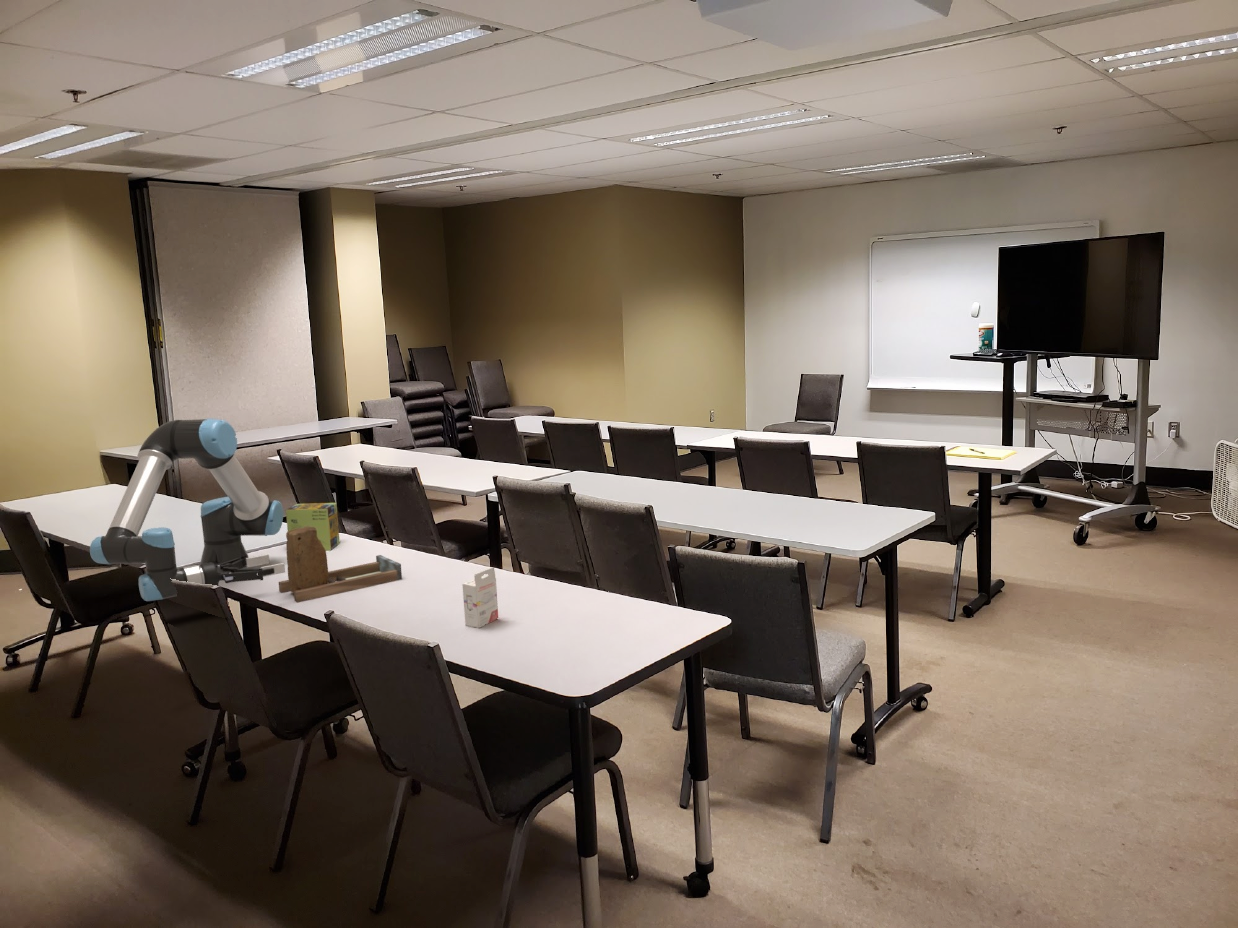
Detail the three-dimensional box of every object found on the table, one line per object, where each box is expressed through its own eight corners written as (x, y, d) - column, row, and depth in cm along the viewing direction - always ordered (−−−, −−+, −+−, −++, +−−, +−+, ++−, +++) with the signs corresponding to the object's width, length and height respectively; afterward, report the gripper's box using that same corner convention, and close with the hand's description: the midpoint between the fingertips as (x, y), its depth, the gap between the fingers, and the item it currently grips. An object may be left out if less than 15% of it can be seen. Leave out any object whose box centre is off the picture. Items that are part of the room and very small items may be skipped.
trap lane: (279, 591, 282) (277, 575, 282) (381, 569, 303) (380, 554, 302) (297, 602, 271) (295, 585, 270) (401, 579, 292) (400, 563, 291)
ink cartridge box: (484, 616, 254) (482, 564, 251) (499, 618, 251) (496, 566, 249) (464, 625, 247) (460, 572, 244) (478, 628, 244) (475, 574, 242)
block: (297, 598, 275) (291, 533, 271) (287, 593, 280) (281, 529, 277) (332, 590, 282) (326, 526, 278) (321, 585, 287) (316, 523, 284)
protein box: (331, 550, 330) (327, 508, 327) (288, 551, 330) (284, 509, 328) (340, 543, 340) (337, 502, 338) (299, 544, 340) (295, 503, 338)
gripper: (190, 581, 270) (263, 567, 283) (215, 600, 251) (292, 584, 264) (187, 556, 269) (261, 543, 282) (212, 573, 250) (290, 558, 263)
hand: (276, 563), depth 273 cm, fingers open, 13 cm apart
